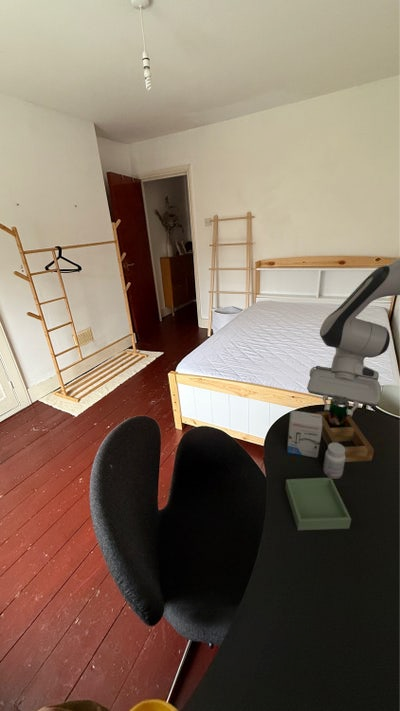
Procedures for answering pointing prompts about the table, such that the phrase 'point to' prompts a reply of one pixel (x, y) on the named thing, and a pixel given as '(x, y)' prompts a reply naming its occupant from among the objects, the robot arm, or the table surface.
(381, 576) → the table surface
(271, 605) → the table surface
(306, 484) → the tray
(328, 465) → the pill bottle
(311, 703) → the table surface
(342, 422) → the soda can
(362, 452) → the rack
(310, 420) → the ink box
